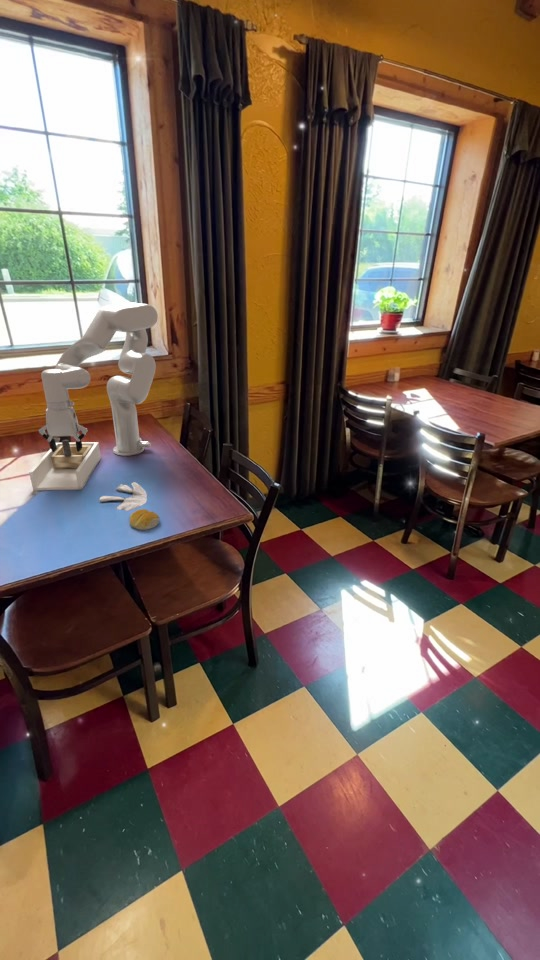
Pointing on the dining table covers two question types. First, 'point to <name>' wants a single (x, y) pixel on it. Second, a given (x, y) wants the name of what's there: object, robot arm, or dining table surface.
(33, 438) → the dining table surface
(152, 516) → the bread roll
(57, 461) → the box
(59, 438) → the coffee mug
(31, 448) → the dining table surface
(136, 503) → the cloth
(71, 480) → the bay
